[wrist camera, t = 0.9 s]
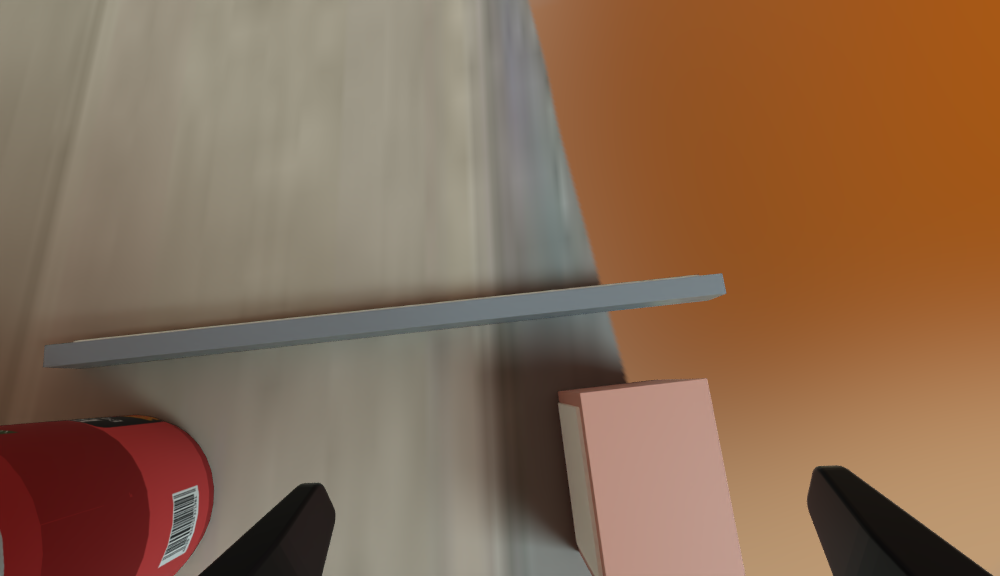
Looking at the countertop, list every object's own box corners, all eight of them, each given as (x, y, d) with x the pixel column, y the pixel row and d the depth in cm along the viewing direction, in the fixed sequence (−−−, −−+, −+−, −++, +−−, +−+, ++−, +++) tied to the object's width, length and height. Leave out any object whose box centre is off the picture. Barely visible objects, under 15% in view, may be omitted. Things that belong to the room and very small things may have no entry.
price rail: (707, 300, 25) (726, 293, 23) (80, 368, 24) (43, 367, 22) (703, 279, 25) (721, 270, 23) (81, 346, 24) (45, 342, 22)
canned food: (169, 381, 24) (-98, 380, 13) (252, 521, 22) (35, 646, 12) (24, 478, 23) (-399, 565, 12) (103, 630, 21) (-287, 879, 11)
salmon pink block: (654, 380, 24) (707, 378, 18) (681, 537, 23) (748, 590, 17) (554, 391, 24) (576, 393, 18) (575, 551, 23) (606, 610, 17)
